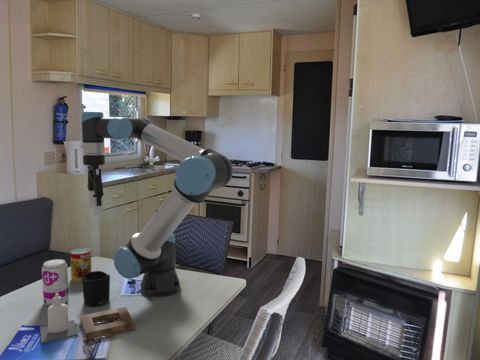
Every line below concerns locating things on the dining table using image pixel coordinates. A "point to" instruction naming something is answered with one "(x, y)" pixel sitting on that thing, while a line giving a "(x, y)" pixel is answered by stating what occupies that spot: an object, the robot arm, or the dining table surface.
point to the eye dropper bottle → (57, 316)
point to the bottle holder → (110, 328)
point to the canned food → (80, 263)
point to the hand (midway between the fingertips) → (95, 210)
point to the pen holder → (96, 288)
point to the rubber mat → (51, 337)
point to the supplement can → (55, 281)
